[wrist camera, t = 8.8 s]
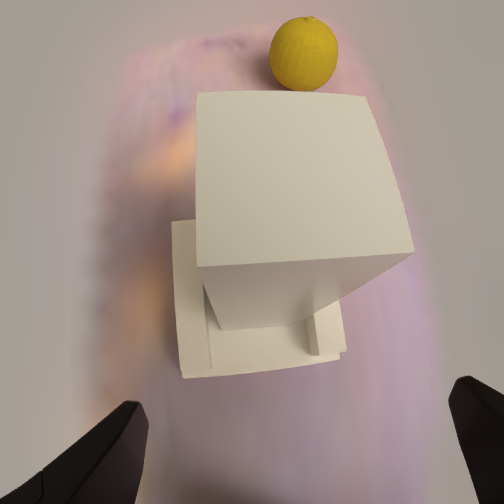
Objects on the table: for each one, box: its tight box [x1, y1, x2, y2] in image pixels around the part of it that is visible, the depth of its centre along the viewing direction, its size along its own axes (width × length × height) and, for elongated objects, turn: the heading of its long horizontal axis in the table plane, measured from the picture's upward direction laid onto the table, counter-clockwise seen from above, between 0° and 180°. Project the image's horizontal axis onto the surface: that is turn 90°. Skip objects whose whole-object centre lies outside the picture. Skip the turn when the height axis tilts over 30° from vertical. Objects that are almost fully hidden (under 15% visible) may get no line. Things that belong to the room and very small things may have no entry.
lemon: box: [269, 16, 338, 92], centre depth 22 cm, size 6×6×8 cm
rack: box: [171, 219, 347, 379], centre depth 18 cm, size 9×9×4 cm
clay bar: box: [195, 91, 415, 331], centre depth 12 cm, size 4×4×13 cm
